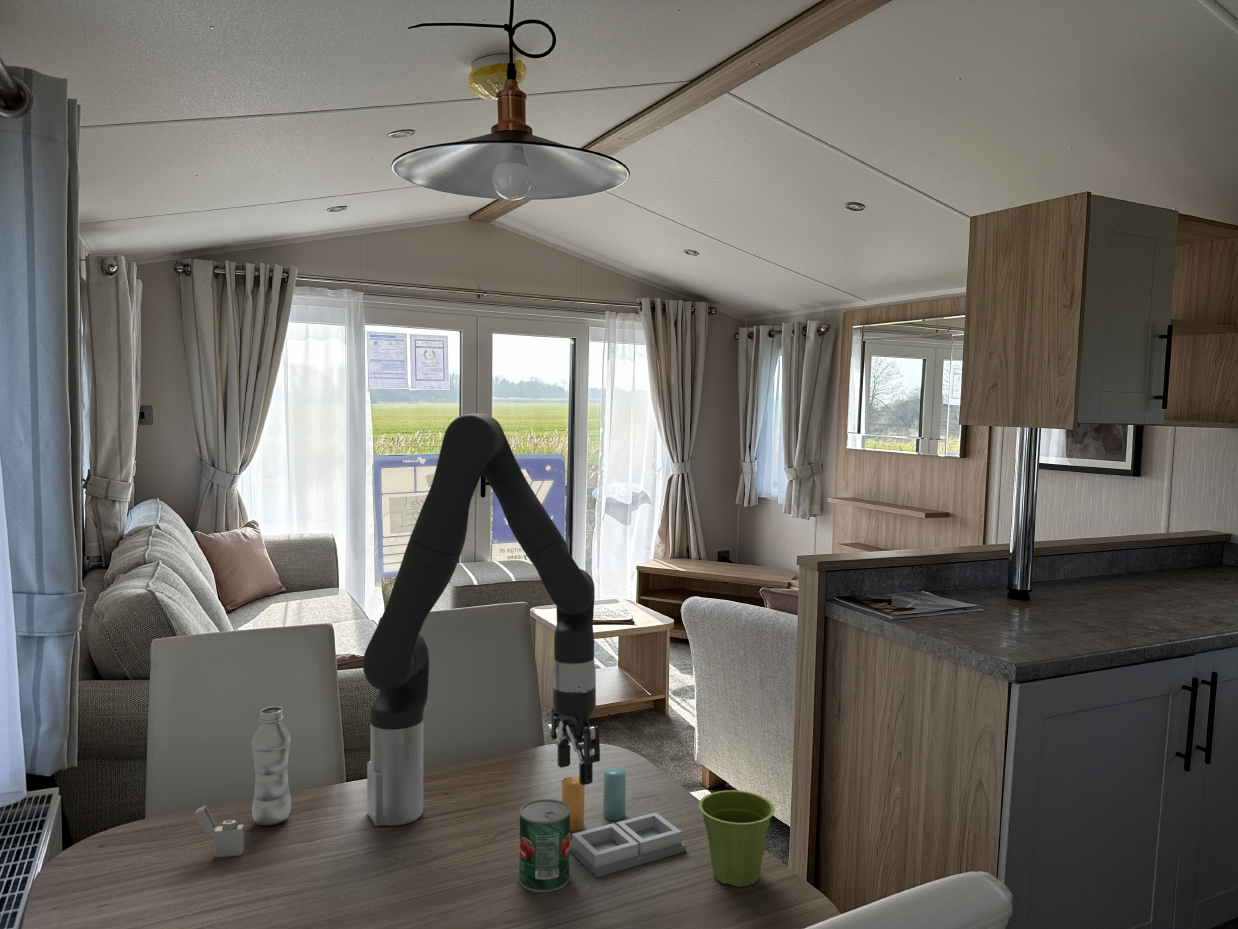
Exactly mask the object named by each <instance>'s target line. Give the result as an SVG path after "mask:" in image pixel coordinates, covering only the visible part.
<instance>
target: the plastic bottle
mask: <svg viewBox="0 0 1238 929" xmlns="http://www.w3.org/2000/svg"><path fill="white" fill-rule="evenodd" d="M259 715H260V716H259V724H260V726H258V728H257V730H256V731H255V733H254V734H253V736H252V739H251V749H252V755H253V764H254V774H255V775H254V776H255V780H254V782H255V784H254V792H253V794H254V795H253V798H252V806H251V814H252V820H254V821H255V823H256V824H257V825H260V826H273V825H277V824H281V823H282V822H284V821H286V820H287V818H288V817H289V815H290V814H291V810H292V806H293V805H292V796H291V793H290V786H289V778H288V771H289V768H288V767H289V753H290V748H291V734H290V731H289V729H288V728H287V727H286V725H284V723H282V721H283V719H284V716H283V707H280V706H268V707H264V708H262V709H260V711H259Z"/></svg>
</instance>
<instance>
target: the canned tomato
mask: <svg viewBox="0 0 1238 929" xmlns="http://www.w3.org/2000/svg"><path fill="white" fill-rule="evenodd" d="M570 837H571V831H570V807H569V806H568V805H567V804H566V803H564V802H562V800H559V799H558V800H557V799H552V798H542V799H541V798H540V799H535V800H531V801H528V802H527V803H525V804H523V805H522V806H521V807H520V809H519V848H518V849H519V851H518V853H519V857H518V858H519V862H518V864H519V867H518V873H519V875H518V882H519V885H520V886H521V887H523V888H524V889H525V890H527V891H530V892H535V893H552V892H555V891H559V890H560V889H562V888H564V887H566V885H567V884H568V883H569V881H570V860H571V859H570V854H571V852H570V843H571V840H570V839H571V838H570Z"/></svg>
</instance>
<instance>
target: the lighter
mask: <svg viewBox="0 0 1238 929" xmlns="http://www.w3.org/2000/svg"><path fill="white" fill-rule="evenodd" d="M194 815H195V818H196V819H197V821H198V823H199V825H200V826H201V829H202V831H203V832H204V834H205V835H209V834H211V833H213V832H214V858H220V857H222V858H223V857H234V856H242V855H243V853H244V851H245V846H244V845H245V827H244V826H245V824H239V822H237V821H236V820H235V819H233V820H223V822H222V824H221V825H217V823H216V821H215V819H214V818H213V816H212V814H211V813H210V811H209V808H208V807H207V805H206V804H205V805H203V806H201V807H199V808H197V809H196V810H195V812H194ZM241 854H242V855H241Z"/></svg>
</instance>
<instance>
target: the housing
mask: <svg viewBox="0 0 1238 929" xmlns="http://www.w3.org/2000/svg"><path fill="white" fill-rule="evenodd" d="M682 833H683V832H682V831H681V829H679V828H677V827H676V826H675V825H674V824H672V823H671V822H670V821H668V820H667V819H665V818H664V817H663V816H661V815H660V814H659V813H658V812H651V813H648V814H644V815H640V816H636V817H632V818H629V819H625V820H619V821H617V822H616V821H615V823H614V822H612V823H610V824H605V825H601V826H597V827H593V828H590V829H587V830H582V831H577V832H573V833H572V834H571V842H570V854H572V855H573V857H574V858H576V859H577V860H578V861H579V862H580V863H581V864H582V865H583V866H584V867H585V868H586V869H587V870H588V871H589V872H590V873H591V874H592V875H593V876H594V877H595V878H600V877H604V876H606V875H607V876H608V875H610V874H611V875H612V874H613V873H614V874H615V873H616V872H620V871H624V870H627V869H631V868H635V867H637V866H641V865H644V864H647V863H651V862H654V861H657V860H662V859H665V858H668V857H671V856H675V855H677V854H678V855H679V854H681V853H685V852H686V851H687V845H686V844H685V843H684V842H682ZM684 851H685V852H684Z"/></svg>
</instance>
